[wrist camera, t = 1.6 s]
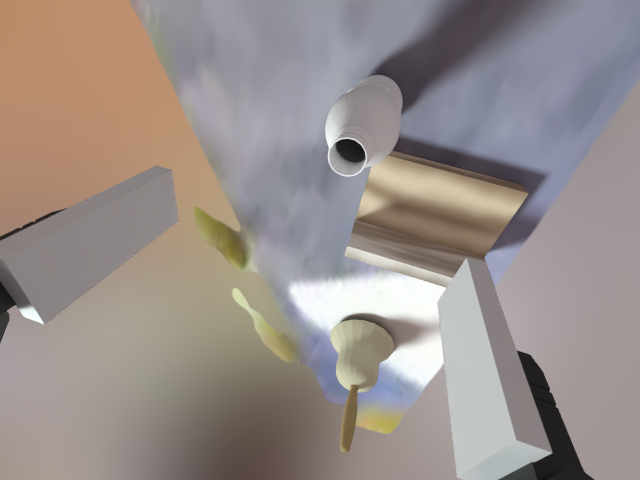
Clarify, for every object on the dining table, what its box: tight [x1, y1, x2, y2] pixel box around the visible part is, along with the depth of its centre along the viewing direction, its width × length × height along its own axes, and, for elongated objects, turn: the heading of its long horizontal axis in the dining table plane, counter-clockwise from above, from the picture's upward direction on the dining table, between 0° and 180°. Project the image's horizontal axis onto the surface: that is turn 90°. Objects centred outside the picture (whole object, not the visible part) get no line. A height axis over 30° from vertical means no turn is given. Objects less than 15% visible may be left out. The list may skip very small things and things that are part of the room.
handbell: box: [331, 320, 394, 453], centre depth 60 cm, size 15×15×25 cm
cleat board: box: [345, 150, 529, 291], centre depth 43 cm, size 14×22×11 cm, turn 80°
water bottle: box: [325, 75, 403, 177], centre depth 31 cm, size 7×7×25 cm
